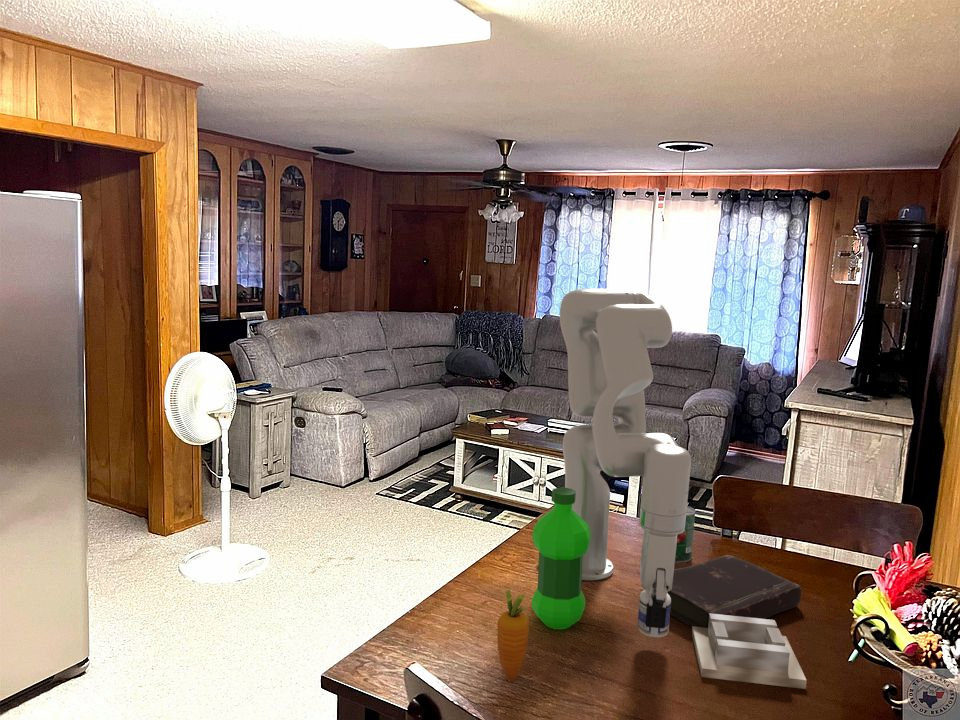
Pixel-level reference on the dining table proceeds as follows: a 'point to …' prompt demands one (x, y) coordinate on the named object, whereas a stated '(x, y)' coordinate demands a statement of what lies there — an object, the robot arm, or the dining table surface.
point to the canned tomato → (686, 538)
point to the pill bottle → (642, 615)
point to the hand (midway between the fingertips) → (653, 616)
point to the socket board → (744, 673)
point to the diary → (729, 591)
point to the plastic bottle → (560, 562)
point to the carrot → (512, 637)
